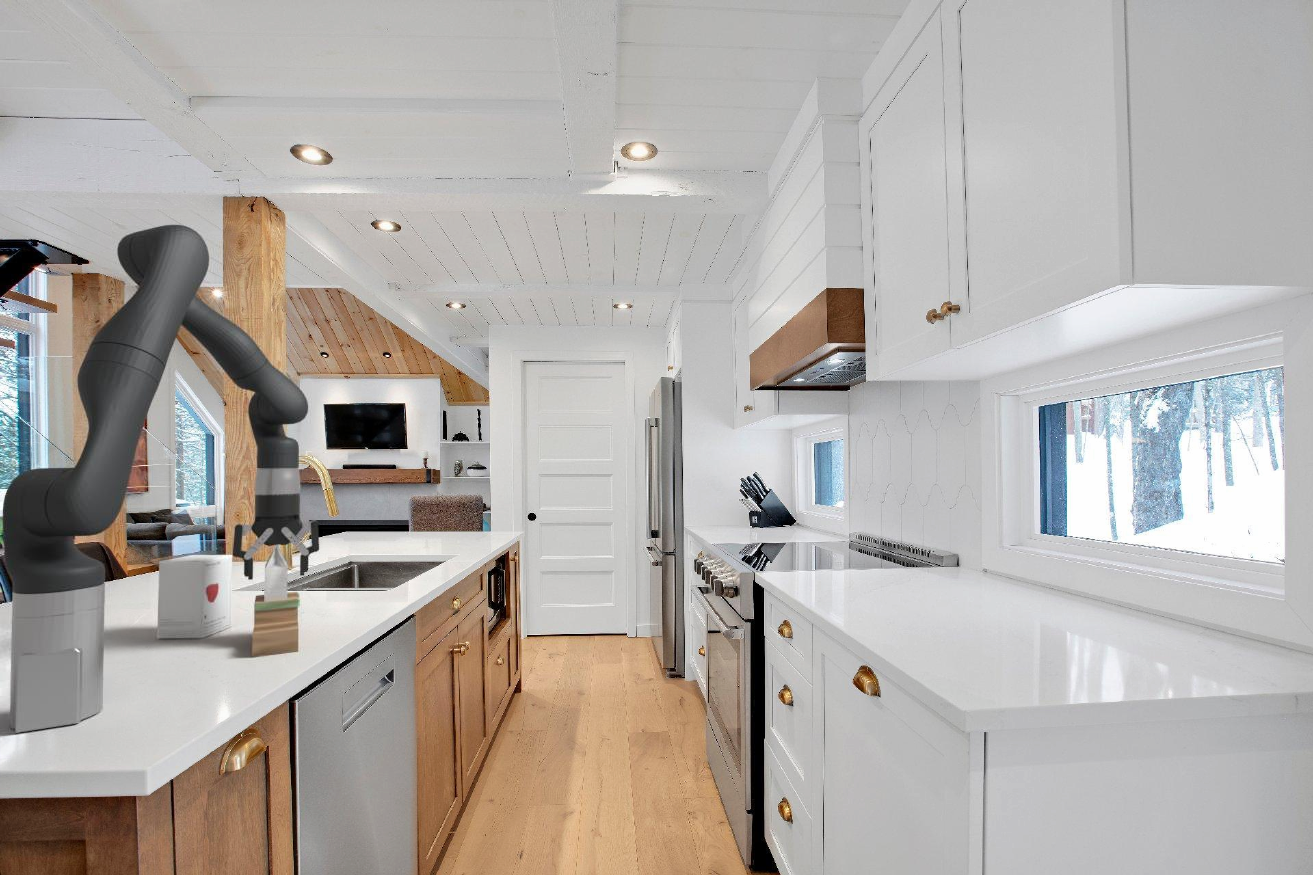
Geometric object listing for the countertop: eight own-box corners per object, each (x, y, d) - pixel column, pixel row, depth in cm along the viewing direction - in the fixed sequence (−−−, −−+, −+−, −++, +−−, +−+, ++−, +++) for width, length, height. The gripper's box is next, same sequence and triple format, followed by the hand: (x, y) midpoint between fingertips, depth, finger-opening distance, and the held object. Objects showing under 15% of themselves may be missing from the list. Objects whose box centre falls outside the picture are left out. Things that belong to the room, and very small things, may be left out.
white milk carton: (286, 593, 130) (287, 542, 130) (287, 599, 124) (287, 545, 124) (265, 595, 128) (265, 543, 128) (264, 601, 122) (264, 547, 122)
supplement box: (201, 639, 126) (203, 560, 127) (155, 639, 126) (156, 561, 127) (233, 627, 135) (233, 553, 136) (189, 627, 135) (190, 554, 136)
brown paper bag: (300, 650, 118) (300, 605, 118) (252, 657, 114) (252, 610, 115) (298, 631, 131) (298, 591, 131) (255, 637, 127) (256, 595, 128)
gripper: (232, 494, 120) (231, 583, 119) (320, 491, 127) (319, 576, 126) (235, 492, 126) (234, 577, 126) (318, 490, 133) (318, 570, 133)
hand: (276, 576), depth 126 cm, fingers open, 8 cm apart
